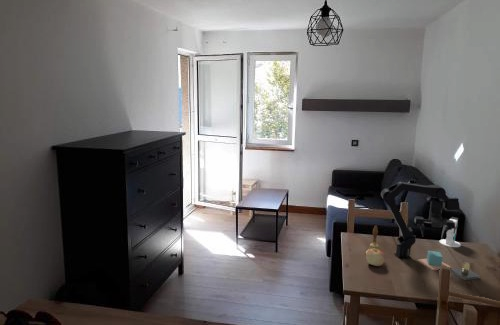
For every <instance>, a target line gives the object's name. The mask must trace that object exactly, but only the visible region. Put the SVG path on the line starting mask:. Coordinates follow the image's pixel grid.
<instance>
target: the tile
mask: <svg viewBox="0 0 500 325" xmlns="http://www.w3.org/2000/svg"><path fill="white" fill-rule="evenodd" d="M417 262H419V264H422V265H424V266H425V267H426V268H428V269H429V270H431V271H438V270H439V269H440V266H434V265H429V264H428V262H427V258H420V259H419V258H418V259H417ZM442 266H447V267H449V269H451V268H452V266H451V265H449V264H447V263H445V262H443V261H442ZM440 270H441V269H440Z"/></svg>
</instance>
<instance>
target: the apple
mask: <svg viewBox="0 0 500 325" xmlns="http://www.w3.org/2000/svg"><path fill="white" fill-rule="evenodd" d="M365 258H366V261H367V263H368V264H370V265H372V266H376V267H380V266H382V265H383V264H384V263H385V259H386V258H385V254H384V253H383V251H382V250H380V249H379V250H378V249H375V248H372V249H370V250H369V251H368V252H367V254H366V257H365Z"/></svg>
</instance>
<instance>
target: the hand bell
mask: <svg viewBox="0 0 500 325" xmlns="http://www.w3.org/2000/svg"><path fill="white" fill-rule="evenodd" d="M378 234H379V230H378V226H377V225H374V227H373V229H372V237H373V238H372V242H371V243H370V244H369V248H368V249H367V250H366V251H365V254H366V255H367V252H368V251H369V250H370V249H372V248H375V249H378V250H380V249H379V245H378V244H377V237H378Z"/></svg>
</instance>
